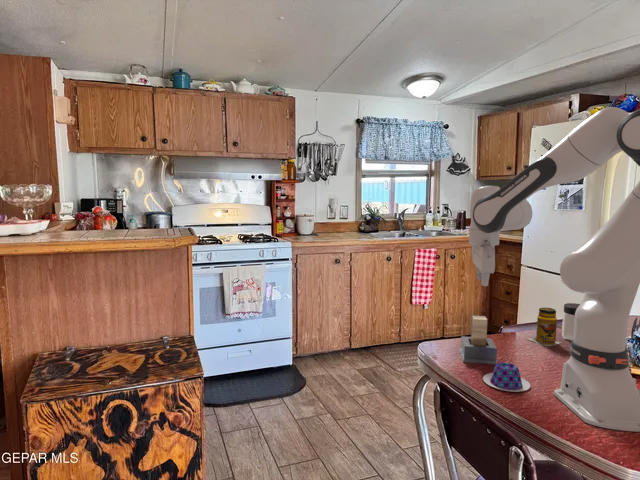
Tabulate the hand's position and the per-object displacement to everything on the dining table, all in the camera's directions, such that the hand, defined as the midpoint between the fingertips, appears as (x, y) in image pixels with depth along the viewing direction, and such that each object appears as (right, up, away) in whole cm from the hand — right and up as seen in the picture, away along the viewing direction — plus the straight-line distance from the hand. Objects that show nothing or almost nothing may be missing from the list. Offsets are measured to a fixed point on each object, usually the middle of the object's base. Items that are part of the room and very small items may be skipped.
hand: (482, 282), depth 134 cm
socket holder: (0, -24, +2) cm, 24 cm away
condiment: (+28, -23, +18) cm, 40 cm away
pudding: (+1, -27, -16) cm, 31 cm away
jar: (+41, -22, +21) cm, 52 cm away
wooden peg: (0, -23, +2) cm, 23 cm away
